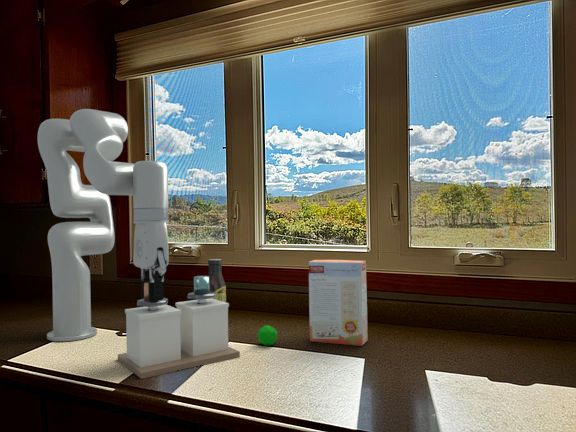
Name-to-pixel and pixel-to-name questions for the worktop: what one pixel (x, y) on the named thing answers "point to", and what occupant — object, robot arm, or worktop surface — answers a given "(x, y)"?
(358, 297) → the cracker box
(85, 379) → the worktop surface
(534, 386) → the worktop surface
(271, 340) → the polyhedron
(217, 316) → the press stand
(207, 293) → the plunger
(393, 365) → the worktop surface
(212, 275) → the sauce bottle
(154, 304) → the plunger
